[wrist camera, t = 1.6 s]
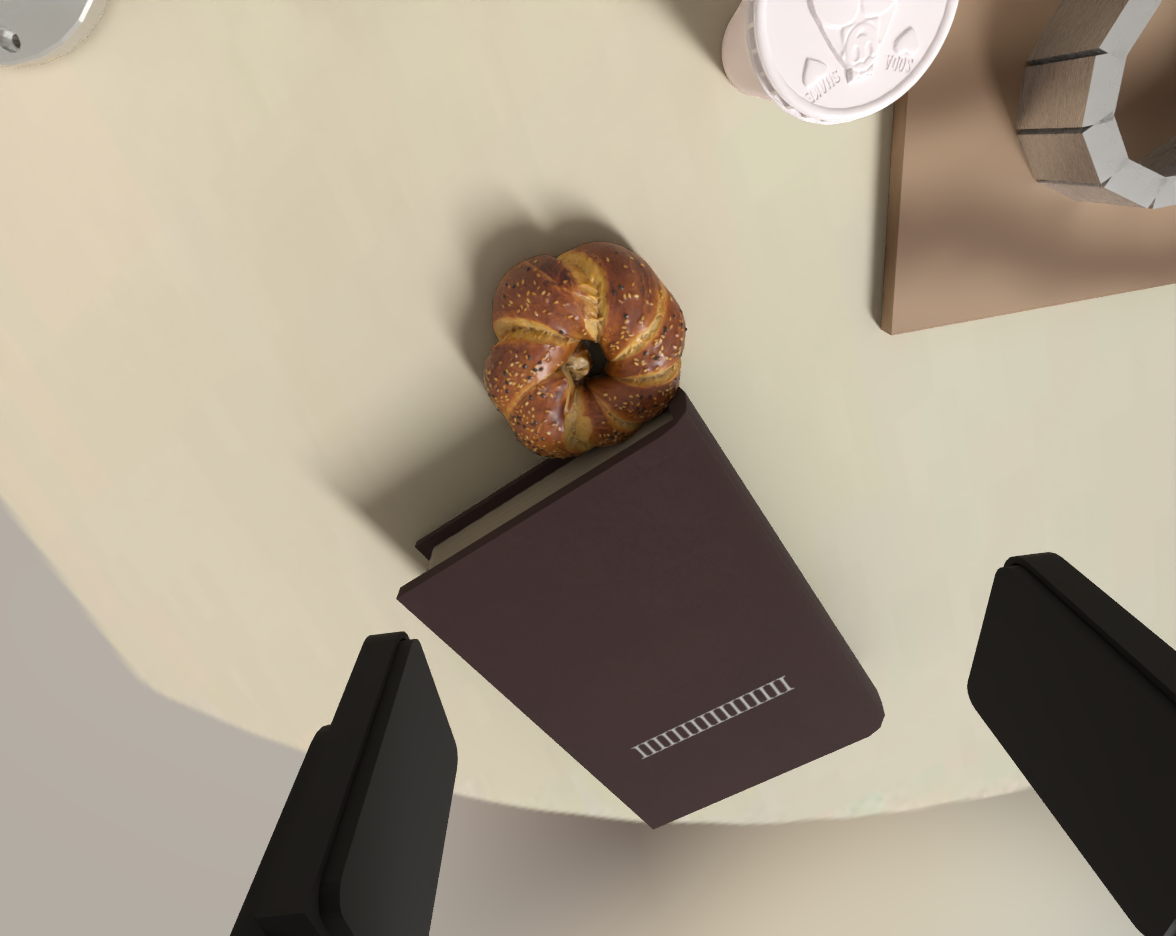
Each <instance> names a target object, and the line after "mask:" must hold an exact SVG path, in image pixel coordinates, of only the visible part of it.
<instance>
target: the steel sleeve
mask: <svg viewBox="0 0 1176 936" xmlns="http://www.w3.org/2000/svg"><path fill="white" fill-rule="evenodd" d="M1161 2H1162V0H1062V1H1061V3H1060V4H1059V6H1058V8H1057V10H1056V11H1055V13H1054V15H1053V16H1052V18H1051V20H1050V22H1049V23H1048V25H1047V27H1046V28H1045V30H1044V32H1043V34H1042V35H1041V37H1040V39H1039V40H1038V42H1037V44H1036V46H1035V47H1034V49H1033V51H1032V52H1031V54H1030V56H1029V58H1028V59H1027V62H1029V63H1031V64H1033V65H1035V66H1030V67H1025V68H1024V72H1023V78H1022V85H1021V92H1020V99H1019V106H1018V113H1017V119H1016V126H1015V129H1023V130H1021V131H1020V132H1019V133H1018V134H1016V137H1017V140H1018V142H1019V144H1020V147H1021V149H1022V152H1023V154H1024V156H1025V159H1026V161H1027V163H1028V166H1029V168H1030V171H1031V173H1032V175H1033V178H1034V179H1039V180H1038V182H1037V183H1040V184H1042V185H1044V186H1046V187H1048V188H1050V189H1052V190H1054V191H1056V192H1059V193H1061V194H1063V195H1065V196H1067V197H1069V198H1071V199H1073V200H1075V201H1082V202H1092V203H1101V204H1110V205H1119V206H1129V207H1138V208H1147V209H1156V208H1161V207H1166V206H1172V205H1176V136H1174V137H1173V138H1171V139H1170V140H1168V141H1167V142H1166V143H1164V144H1163V145H1161V146H1160V147H1159V148H1157V149H1156V150H1154V151H1153V152H1152V153H1150V154H1149V155H1147V156H1146V157H1144V158H1143V159H1142V160H1140V161H1139V162H1137V163H1136V162H1134V161H1132V160H1130V159H1129V158H1128V155H1127V152H1126V149H1125V146H1124V143H1123V140H1122V137H1121V134H1120V132H1119V129H1118V126H1117V123H1116V120H1115V117H1114V113H1115V109H1116V104H1117V99H1118V95H1119V90H1120V85H1121V81H1122V76H1123V71H1124V67H1125V62H1126V57H1127V54H1128V53H1129V51H1130V50H1131V48H1132V47H1133V45H1134V44H1135V42H1136V41H1137V39H1138V37H1139V36H1140V34H1141V33H1142V31H1143V30H1144V28H1145V27H1146V25H1147V23H1148V22H1149V20H1150V19H1151V17H1152V16H1153V14H1154V13H1155V11H1156V10H1157V8H1158V6H1159V5H1160V3H1161Z"/></svg>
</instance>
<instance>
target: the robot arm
mask: <svg viewBox="0 0 1176 936" xmlns="http://www.w3.org/2000/svg"><path fill="white" fill-rule="evenodd" d="M107 1H108V0H0V67H8V68H21V67H27V66H34V65H40V64H45V63H47V62H50V61H52V60H54V59H56V58H59V57H61V56H63V55H65V54H68V53H69V52H70V51H71V50H72V49H74V48H75V47H76V46H77V45H78V44H80V43H81V42H82V41H83V40H84V39H86V38H87V37H88V35H89V34H90V32H91V31H92V29H93V28H94V27H95V25H96V24H97V22H98V21H99V19H100V18H101V16H102V15H103V12H104V10H105V7H106V4H107ZM967 689H968V695H969V698H970V700H971V703H972V705H973V706H974V708H975V709H976V711H977V712H978V714H979V715H980V716H981V718H982V719H983V720H984V722H985V723H986V724H987V726H988V727H989V728H990V730H991V731H992V733H993V734H994V735H995V737H996V738H997V739H998V741H999V742H1000V743H1001V745H1002V746H1003V748H1004V749H1005V750H1006V752H1007V753H1008V754H1009V756H1010V757H1011V758H1012V760H1013V761H1014V763H1015V764H1016V765H1017V767H1018V768H1019V769H1020V771H1021V772H1022V773H1023V775H1024V776H1025V778H1026V779H1027V780H1028V782H1029V783H1030V784H1031V786H1032V787H1033V788H1034V790H1035V791H1036V792H1037V794H1038V795H1039V797H1040V798H1041V799H1042V801H1043V802H1044V803H1045V805H1046V806H1047V807H1048V809H1049V810H1050V812H1051V813H1052V814H1053V816H1054V817H1055V818H1056V820H1057V821H1058V822H1059V824H1060V825H1061V827H1062V828H1063V829H1064V831H1065V832H1066V833H1067V835H1068V836H1069V837H1070V839H1071V840H1072V841H1073V843H1074V844H1075V845H1076V847H1077V848H1078V850H1079V851H1080V852H1081V854H1082V855H1083V856H1084V858H1085V859H1086V861H1087V862H1088V863H1089V865H1090V866H1091V867H1092V869H1093V870H1094V871H1095V873H1096V874H1097V876H1098V877H1099V878H1100V880H1101V881H1102V882H1103V884H1104V885H1105V886H1106V888H1107V889H1108V891H1109V892H1110V893H1111V894H1112V896H1113V897H1114V899H1115V900H1116V901H1117V903H1118V904H1119V905H1120V907H1121V908H1122V909H1123V911H1124V912H1125V914H1126V915H1127V916H1128V918H1129V919H1130V920H1131V922H1132V923H1133V924H1134V925H1135V927H1136V928H1137V929H1138V930H1139V931H1140V932H1141V933H1142V934H1143V935H1144V936H1176V651H1175V650H1174V649H1173V648H1172V647H1170V646H1169V645H1168V644H1167V643H1165V642H1164V641H1163V640H1162V639H1161V638H1159V637H1158V636H1157V635H1156V634H1154V633H1153V632H1152V631H1151V630H1150V629H1148V628H1147V627H1146V626H1145V625H1144V624H1142V623H1141V622H1140V621H1139V620H1137V619H1136V618H1135V617H1134V616H1133V615H1131V614H1130V613H1129V612H1128V611H1127V610H1125V609H1124V608H1123V607H1122V606H1120V605H1119V604H1118V603H1117V602H1116V601H1114V600H1113V599H1112V598H1111V597H1109V596H1108V595H1107V594H1106V593H1105V592H1103V591H1102V590H1101V589H1100V588H1099V587H1097V586H1096V585H1095V584H1094V583H1092V582H1091V581H1090V580H1089V579H1088V578H1086V577H1085V576H1084V575H1083V574H1082V573H1080V572H1079V571H1078V570H1077V569H1075V568H1074V567H1073V566H1072V565H1071V564H1069V563H1068V562H1067V561H1066V560H1064V559H1063V558H1062V557H1060V556H1059V555H1057V554H1055V553H1051V552H1046V553H1038V554H1030V555H1022V556H1014V557H1010V558H1009V559H1008V560H1007V561H1006V562H1005V564H1004V567H1002V568H999V569H998V570H997V572H996V574H995V578H994V582H993V586H992V589H991V593H990V597H989V601H988V605H987V609H986V613H985V617H984V621H983V625H982V629H981V632H980V636H979V640H978V644H977V648H976V652H975V656H974V660H973V664H972V668H971V671H970V675H969V679H968V684H967ZM457 761H458V756H457V746H456V743H455V740H454V737H453V734H452V731H451V728H450V726H449V723H448V720H447V717H446V714H445V712H444V709H443V706H442V703H441V700H440V697H439V695H438V692H437V689H436V686H435V683H434V680H433V678H432V675H431V672H430V669H429V666H428V663H427V661H426V658H425V655H424V652H423V649H422V646H421V644H420V642H419V640H418V639H411V640H410V639H409V637H408V635H407V634H406V633H405V632H394V633H386V634H377V635H369V636H368V637H367V638H366V639H365V641H364V643H363V645H362V648H361V651H360V653H359V656H358V658H357V661H356V663H355V666H354V668H353V671H352V673H351V676H350V678H349V681H348V683H347V686H346V688H345V691H344V693H343V696H342V698H341V701H340V703H339V706H338V708H337V711H336V713H335V716H334V718H333V721H332V723H331V725H326V726H323V727H322V728H321V729H320V730H319V731H318V732H317V733H316V735H315V736H314V738H313V740H312V742H311V744H310V746H309V749H308V751H307V754H306V756H305V758H304V761H303V763H302V766H301V768H300V770H299V773H298V775H297V777H296V780H295V782H294V785H293V787H292V789H291V792H290V794H289V796H288V799H287V801H286V804H285V806H284V808H283V811H282V813H281V816H280V818H279V820H278V823H277V825H276V828H275V830H274V832H273V835H272V837H271V839H270V842H269V844H268V847H267V849H266V851H265V854H264V856H263V858H262V861H261V864H260V865H259V868H258V870H257V873H256V875H255V877H254V880H253V882H252V884H251V887H250V889H249V892H248V894H247V896H246V899H245V901H244V903H243V906H242V908H241V911H240V913H239V915H238V918H237V920H236V923H235V925H234V927H233V930H232V932H231V934H230V936H429V931H430V925H431V919H432V912H433V907H434V901H435V895H436V889H437V883H438V878H439V872H440V866H441V860H442V854H443V848H444V842H445V836H446V830H447V823H448V817H449V812H450V806H451V800H452V795H453V789H454V783H455V777H456V771H457Z"/></svg>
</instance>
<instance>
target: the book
mask: <svg viewBox="0 0 1176 936" xmlns="http://www.w3.org/2000/svg"><path fill="white" fill-rule="evenodd" d="M667 405H668V407H667V408H666V409H665V410H664V411H662V413H661V414H659V415H658V416H655V417H654V418H652V419H651V420H649V421H647V422H643V423H642V425H641V426H640V427H639V429H638V430H637V431H636V432H635V433H634V434H633V435H632V437H631V438H628V439H627V440H626V441H624V442H623V443H620V444H618V445H614V446H606V447H599V446H595V447H594V448H592V449H590V450H589V451H587V452H585V453H583V454H582V455H579V456H573V457H567V458H564V459H562V458H548V459H547V460H545V461H544V462H542V463H540V464H539V465H537V466H536V467H534V468H533V469H531V470H529V471H528V472H526V473H525V474H523V475H521V476H520V477H518V478H517V479H515V480H514V481H512V482H510V483H509V484H507V485H506V486H504V487H503V488H501V489H499V490H498V491H496V492H495V493H493V494H492V495H490V496H488V497H487V498H485V499H484V500H482V501H481V502H479V503H477V504H476V505H474V506H473V507H471V508H470V509H468V510H466V511H465V512H463V513H462V514H460V515H459V516H457V517H455V518H454V519H452V520H451V521H449V522H448V523H446V524H444V525H443V526H441V527H440V528H438V529H437V530H435V531H433V532H432V533H430V534H429V535H427V536H426V537H424V538H422V539H421V540H419V541H418V542H417V543H416V546H415V547H416V548H417V549H418V550H419V551H420V552H421V553H422V554H423V555H424V556H425V557H426V558H427V559H428V560H429V564H428V567H427V571H426V572H425V573H423V574H422V575H420V576H418V577H417V578H415V579H414V580H412V581H410V582H409V583H407V584H405V585H404V586H402V587H401V588H400V590H399V593H398V596H397V598H396V599H397V600H398V601H399V602H400V603H402V604H403V605H404V606H405V607H406V608H407V609H408V610H409V611H410V612H412V613H413V614H414V615H415V616H416V617H417V618H418V619H419V620H420V621H422V622H423V623H424V624H425V625H426V626H427V627H428V628H429V629H431V630H432V631H433V632H434V633H435V634H436V635H437V636H438V637H439V638H441V639H442V640H443V641H444V642H445V643H446V644H447V645H448V646H449V647H451V648H452V649H453V650H454V651H455V652H456V653H457V654H458V655H459V656H461V657H462V658H463V659H464V660H465V661H466V662H467V663H468V664H470V665H471V666H472V667H473V668H474V669H475V670H476V671H477V672H478V673H480V674H481V675H482V676H483V677H484V678H485V679H486V680H487V681H488V682H490V683H491V684H492V685H493V686H494V687H495V688H496V689H497V690H499V691H500V692H501V693H502V694H503V695H504V696H505V697H506V698H507V699H509V700H510V701H511V702H512V703H513V704H514V705H515V706H516V707H517V708H519V709H520V710H521V711H522V712H523V713H524V714H525V715H526V716H527V717H529V718H530V719H531V720H532V721H533V722H534V723H535V724H536V725H538V726H539V727H540V728H541V729H542V730H543V731H544V732H545V733H546V734H548V735H549V736H550V737H551V738H552V739H553V740H554V741H555V742H556V743H558V744H559V745H560V746H561V747H562V748H563V749H564V750H565V751H567V752H568V753H569V754H570V755H571V756H572V757H573V758H574V759H575V760H577V761H578V762H579V763H580V764H581V765H582V766H583V767H584V768H585V769H587V770H588V771H589V772H590V773H591V774H592V775H593V776H594V777H595V778H597V779H598V780H599V781H600V782H601V783H602V784H603V785H604V786H606V787H607V788H608V789H609V790H610V791H611V792H612V793H613V794H614V795H616V796H617V797H618V798H619V799H620V800H621V801H622V802H623V803H624V804H626V805H627V806H628V807H629V808H630V809H631V810H632V811H633V812H635V813H636V814H637V815H638V816H639V817H640V818H641V819H642V820H643V821H645V822H646V823H647V824H648V825H649V826H650V827H651V828H652V829H655V828H658V827H660V826H662V825H665V824H667V823H669V822H672V821H674V820H676V819H679V818H681V817H683V816H686V815H688V814H690V813H693V812H695V811H697V810H700V809H702V808H704V807H707V806H709V805H711V804H713V803H716V802H718V801H720V800H723V799H725V798H727V797H730V796H732V795H734V794H737V793H739V792H741V791H744V790H746V789H748V788H751V787H753V786H755V785H758V784H760V783H762V782H765V781H767V780H769V779H771V778H774V777H776V776H778V775H781V774H783V773H785V772H788V771H790V770H792V769H795V768H797V767H799V766H802V765H804V764H806V763H809V762H811V761H813V760H816V759H818V758H820V757H823V756H825V755H827V754H829V753H832V752H834V751H836V750H839V749H841V748H843V747H846V746H848V745H850V744H853V743H855V742H857V741H860V740H862V739H864V738H867V737H869V736H870V735H871V734H873V733H874V732H875V731H877V730H878V729H879V728H880V727H881V724H882V721H883V718H884V716H885V714H884V710H883V706H882V702H881V699H880V697H879V694H878V692H877V689H876V688H875V686H874V685H873V683H872V682H871V680H870V678H869V677H868V675H867V674H866V672H865V671H864V669H863V668H862V666H861V665H860V663H859V661H858V660H857V658H856V657H855V655H854V654H853V652H852V651H851V649H850V647H849V646H848V644H847V643H846V641H845V640H844V638H843V637H842V635H841V633H840V632H839V630H838V629H837V627H836V626H835V624H834V623H833V621H832V620H831V618H830V616H829V615H828V613H827V612H826V610H825V609H824V607H823V606H822V604H821V602H820V601H819V599H818V598H817V596H816V595H815V593H814V592H813V590H812V589H811V587H810V585H809V584H808V582H807V581H806V579H805V578H804V576H803V575H802V573H801V571H800V570H799V568H798V567H797V565H796V564H795V562H794V561H793V559H792V558H791V556H790V554H789V553H788V551H787V550H786V548H785V547H784V545H783V544H782V542H781V540H780V539H779V537H778V536H777V534H776V533H775V531H774V530H773V528H772V526H771V525H770V523H769V522H768V520H767V519H766V517H765V516H764V514H763V513H762V511H761V509H760V508H759V506H758V505H757V503H756V502H755V500H754V499H753V497H752V495H751V494H750V492H749V491H748V489H747V488H746V486H745V485H744V483H743V482H742V480H741V478H740V477H739V475H738V474H737V472H736V471H735V469H734V468H733V466H732V464H731V463H730V461H729V460H728V458H727V457H726V455H725V454H724V452H723V451H722V449H721V447H720V446H719V444H718V443H717V441H716V440H715V438H714V437H713V435H712V433H711V432H710V430H709V429H708V427H707V426H706V424H705V423H704V421H703V419H702V418H701V416H700V415H699V413H698V412H697V410H696V409H695V407H694V406H693V404H692V402H691V401H690V399H689V398H688V396H687V395H686V393H685V392H684V391H683V390H682V389H681V388H680V387H678V390H677V392H676V394H675V395H674V397H673V398H672V399H671V401H670V402H669V403H668V404H667Z"/></svg>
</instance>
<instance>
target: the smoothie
mask: <svg viewBox="0 0 1176 936" xmlns="http://www.w3.org/2000/svg"><path fill="white" fill-rule="evenodd" d="M958 2H959V0H742V2H741V3H740V5H739V7H738V8H737V10H736V12H735V13H734V15H733V17H732V18H731V20H730V22H729V24H728V26H727V28H726V31H725V34H724V37H723V42H722V62H723V67H724V70H725V73H726V75H727V77H728V79H729V81H730V82H731V83H732V85H733V86H734V87H735V88H737V89H738V90H739V91H741V92H743V93H745V94H747V95H751V96H754V97H758V98H762V99H765V100H769V101H773V102H775V103H776V104H777V105H778V106H779V107H780V108H781V109H782V110H783V111H784V112H786V113H788V114H790V115H792V116H794V117H796V118H798V119H800V120H802V121H804V122H811V123H817V124H824V125H831V124H837V123H843V122H850V121H853V120H856V119H858V118H862V117H865V116H868V115H871V114H873V113H875V112H877V111H879V110H882V109H883V108H885V107H887V106H888V105H890V104H891V103H893V102H894V101H896V100H897V99H898V98H900V97H901V96H902V95H903V94H905V93H906V92H907V91H908V90H909V89H910V88H911V87H912V86H913V85H914V84H915V83H916V82H917V81H918V80H919V79H920V78H921V76H922V75H923V74H924V73H925V71H926V70H927V69H928V67H929V66H930V65H931V63H932V62H933V60H934V59H935V57H936V56H937V54H938V52H939V50H940V49H941V47H942V45H943V43H944V41H945V39H946V37H947V35H948V32H949V30H950V27H951V25H952V22H953V19H954V16H955V13H956V9H957V6H958Z"/></svg>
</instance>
